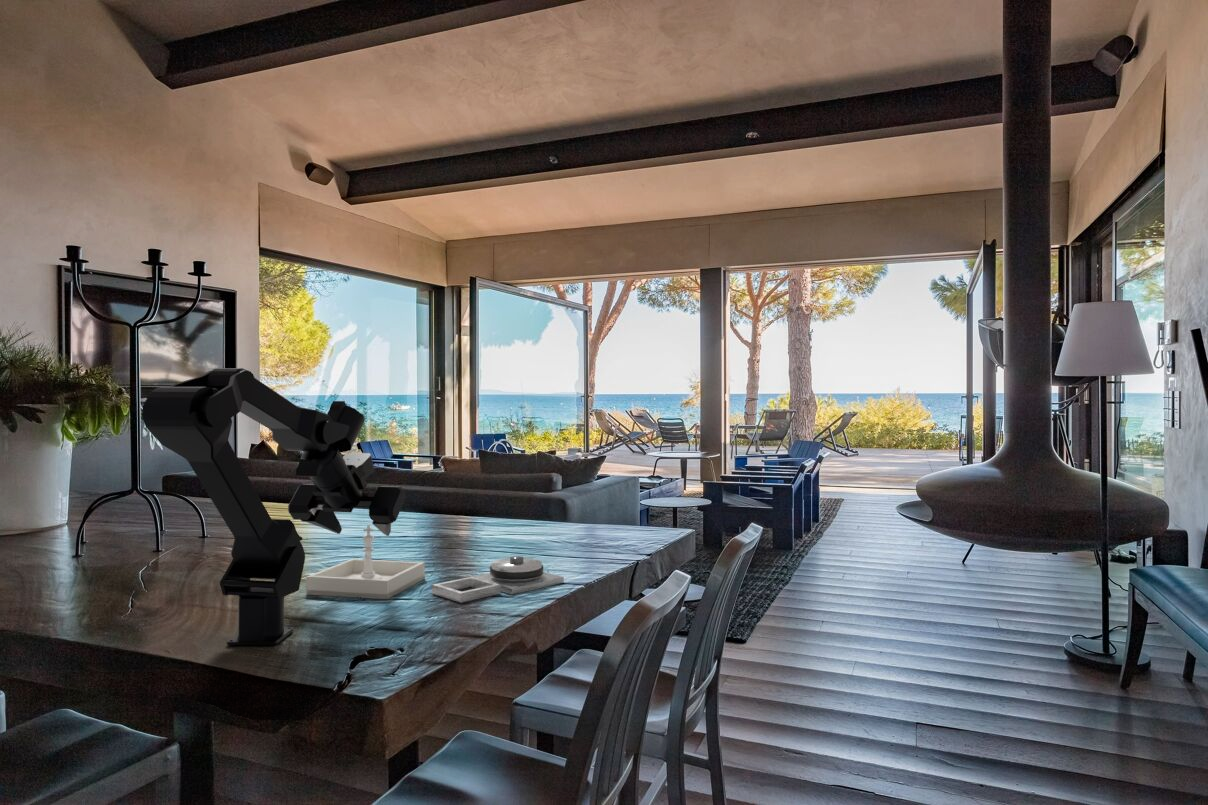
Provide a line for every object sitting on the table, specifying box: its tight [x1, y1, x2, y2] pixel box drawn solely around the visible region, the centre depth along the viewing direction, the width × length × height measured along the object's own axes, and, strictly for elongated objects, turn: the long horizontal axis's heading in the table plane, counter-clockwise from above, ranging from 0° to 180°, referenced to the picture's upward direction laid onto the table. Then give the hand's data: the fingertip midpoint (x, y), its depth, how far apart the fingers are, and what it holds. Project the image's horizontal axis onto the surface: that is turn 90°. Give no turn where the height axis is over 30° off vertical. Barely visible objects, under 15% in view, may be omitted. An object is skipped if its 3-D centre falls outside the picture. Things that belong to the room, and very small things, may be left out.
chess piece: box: [355, 524, 382, 579], centre depth 130 cm, size 5×5×10 cm
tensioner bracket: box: [431, 555, 565, 604], centre depth 130 cm, size 21×12×4 cm, turn 136°
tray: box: [305, 558, 426, 600], centre depth 130 cm, size 15×15×3 cm
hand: (364, 532), depth 128 cm, fingers open, 9 cm apart
